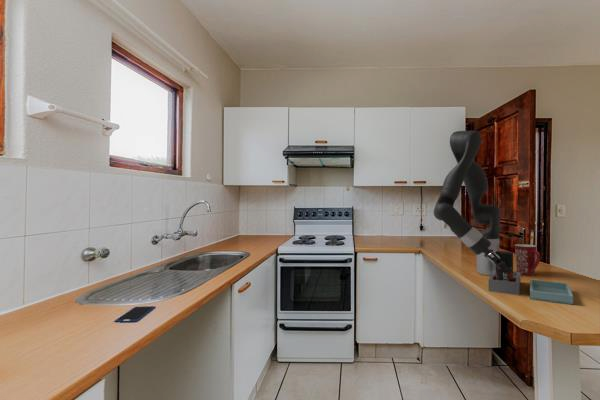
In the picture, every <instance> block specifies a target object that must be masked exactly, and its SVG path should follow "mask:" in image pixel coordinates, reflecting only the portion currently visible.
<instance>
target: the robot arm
mask: <svg viewBox="0 0 600 400" xmlns="http://www.w3.org/2000/svg"><path fill="white" fill-rule="evenodd" d="M482 138H483V137H482V135H481V133H480V131H478V130H457V131H454V132H453V133H451V135H450V136H449V145H450V146H449V147H450V149H451V152H452V154H453V156H454V158H455V160H456V163H457V164H456V165H455V166H454V167H453V168H452V169H451V170H450V171H449V172H448V174H446V176H445V178H444V180H443V184H442V187H441V190H440V194H439V196H438V198H437V201H436V203H435V206H434V209H433V215H434V218H436V219H437V220H438V221H442V222H444V223H445V224H446V225H447V226H448V227H449V228H450V230H451V232H452V233H453V234H454V235H455V236H456V237H457V238H458V239H459V240H461V242H462V243H463V244H464V245H465V246H466V247H467V248H468V249H469V250H471V252H473V253H474V254H475V255H476V272H477V273H478V274H481V275H485V276H491V274H492V272H493V270H496V265H498V267H500V268H501V269H502V270H503V271H504V272H506V273H507V274H510V273H511V272H512V270H511V269H510V268H509V267H508V266H507V265H506V264H505V263H504V261H502V260H501V258H500V257H499V256H498V255H497V254H496V253H495V252H496V251H501V250H500V231H501V229H500V227H501V209H500V206H498V204H481V200H482V197H483V195H484V194H485V192H486V191H487V189H488V186H489V181H488V179H487V175H486V172H485V170H484V168H483V167H481V165H480V164H478V163H477V162H476V161H475V158H476V156H477V154H478V152H479V151H480V148H481V145H482ZM463 183H464V184H463ZM463 185H464V186H465V189H466V192H467V194H468V198H469V201H470V207H471V212H472V215H473V219H474V221H475V222H476V223H478V224H483V225H484V224H485V225H488V224H489V225H490V226H489V227H488V228H486V229H484V230H478V229H477V228H476V227H474V226H473V225H471V224H470V222H468V221H467V220H466V219H465V218H464V217H463V216H462V215H461V214H460V213H459V211H458V210H457V208H455V207H454V205H455V202H456V200H457V199H458V197H459V195H460V192H461V189H462V187H463ZM498 261H501V262H500V263H499V264H497V262H498Z"/></svg>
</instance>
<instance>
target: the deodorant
mask: <svg viewBox="0 0 600 400" xmlns="http://www.w3.org/2000/svg"><path fill="white" fill-rule="evenodd" d="M495 253H496V254H497V255H498V256H499V257H500V258H501V260H502V261H504V263H505V264H506V265H507V266H508V267H509V268H510V269H511V270H512V272H511V273H510V274H507V273H506V272H504V271H503V270H502V269H501V268H500V267H498V265H496V280H502V281H510V282H513V272H514V253H513V252H512V251H504V250H500V251H496V252H495ZM500 262H501V261H498V262H497V264H499V263H500Z"/></svg>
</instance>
